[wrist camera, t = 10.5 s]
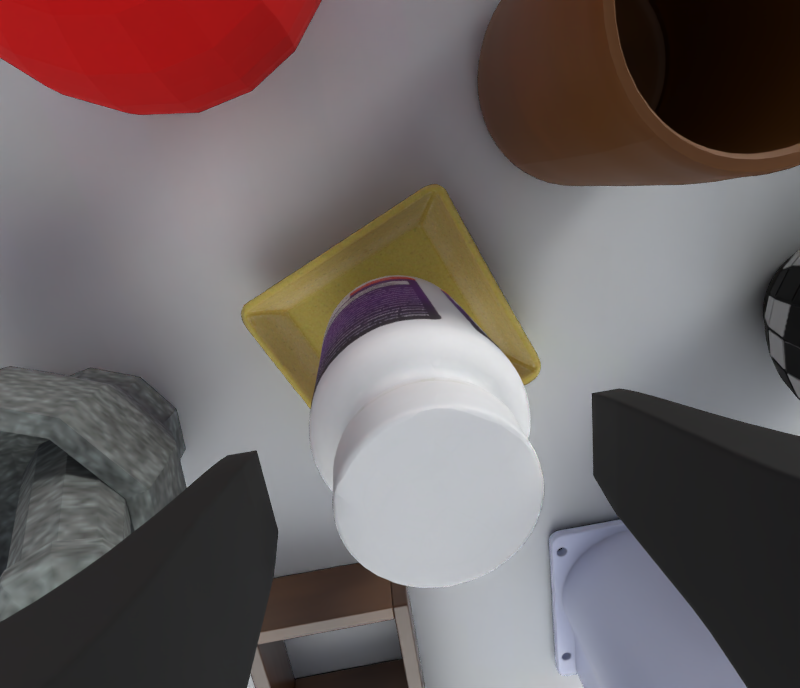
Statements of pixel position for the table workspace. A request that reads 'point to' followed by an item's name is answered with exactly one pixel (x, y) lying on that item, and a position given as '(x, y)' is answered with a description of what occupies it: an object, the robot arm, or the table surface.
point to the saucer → (377, 257)
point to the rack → (335, 627)
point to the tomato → (152, 48)
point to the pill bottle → (422, 437)
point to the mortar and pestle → (77, 472)
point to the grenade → (785, 322)
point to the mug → (643, 89)
